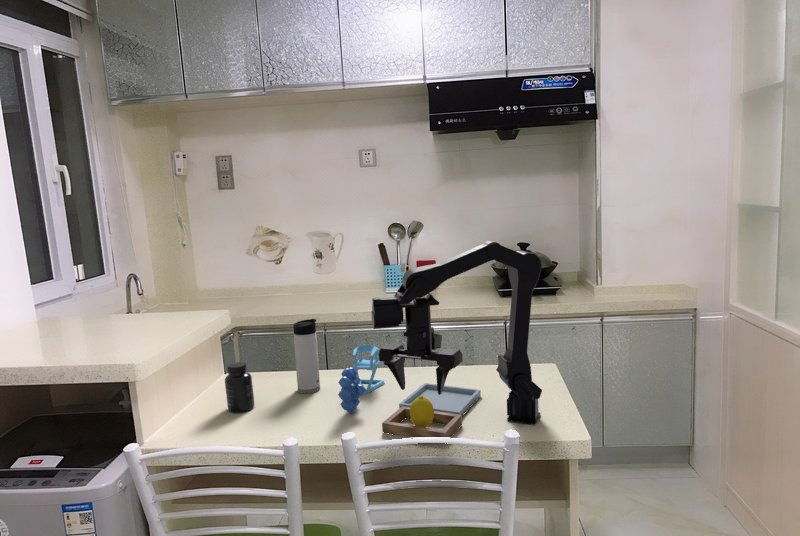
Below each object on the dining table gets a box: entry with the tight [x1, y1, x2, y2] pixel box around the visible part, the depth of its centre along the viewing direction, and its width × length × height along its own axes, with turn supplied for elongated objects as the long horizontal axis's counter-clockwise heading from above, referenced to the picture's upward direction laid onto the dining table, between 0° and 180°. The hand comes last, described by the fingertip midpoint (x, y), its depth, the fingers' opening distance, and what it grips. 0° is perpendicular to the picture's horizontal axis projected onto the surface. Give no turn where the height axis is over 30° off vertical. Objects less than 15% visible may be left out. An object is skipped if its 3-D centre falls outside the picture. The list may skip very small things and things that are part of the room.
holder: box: [381, 406, 463, 438], centre depth 129 cm, size 15×10×2 cm
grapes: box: [337, 366, 367, 414], centre depth 140 cm, size 12×7×12 cm, turn 168°
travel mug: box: [292, 318, 321, 394], centre depth 158 cm, size 6×7×20 cm
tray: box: [398, 382, 482, 416], centre depth 144 cm, size 16×16×2 cm
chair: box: [351, 343, 385, 394], centre depth 158 cm, size 8×8×12 cm
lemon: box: [410, 396, 434, 428], centre depth 129 cm, size 6×6×8 cm
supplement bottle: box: [224, 361, 255, 414], centre depth 146 cm, size 7×7×12 cm
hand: (421, 391), depth 128 cm, fingers open, 9 cm apart
